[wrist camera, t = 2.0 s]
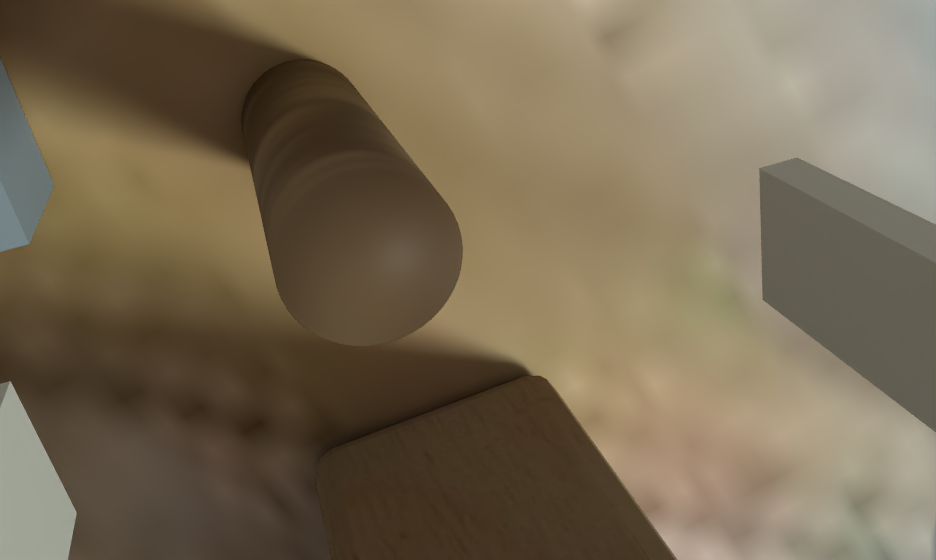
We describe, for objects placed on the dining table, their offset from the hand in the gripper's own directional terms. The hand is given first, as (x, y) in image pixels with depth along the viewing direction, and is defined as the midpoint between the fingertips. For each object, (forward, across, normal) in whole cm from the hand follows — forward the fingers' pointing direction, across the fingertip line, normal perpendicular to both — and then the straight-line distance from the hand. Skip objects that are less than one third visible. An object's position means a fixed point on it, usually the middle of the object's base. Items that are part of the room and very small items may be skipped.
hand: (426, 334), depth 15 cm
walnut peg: (+16, 0, 0) cm, 16 cm away
